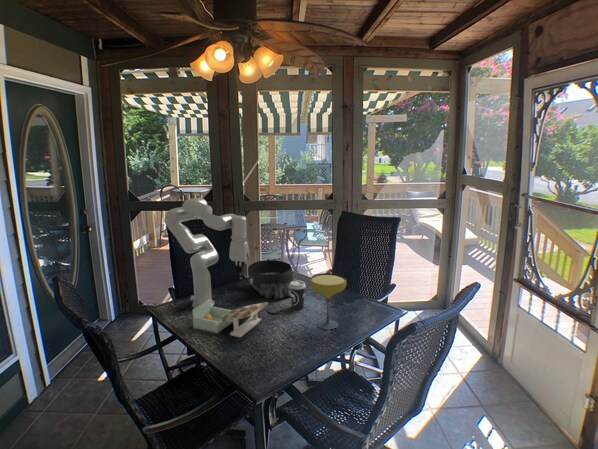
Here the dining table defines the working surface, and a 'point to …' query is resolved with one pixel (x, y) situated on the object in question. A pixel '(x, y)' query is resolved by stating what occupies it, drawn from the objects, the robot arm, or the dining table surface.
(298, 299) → the coffee cup
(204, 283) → the robot arm
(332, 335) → the dining table surface
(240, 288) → the dining table surface
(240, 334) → the stand
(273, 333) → the dining table surface
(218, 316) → the bin
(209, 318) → the orange ball
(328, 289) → the cocktail glass
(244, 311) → the beige flat panel
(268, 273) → the basket
